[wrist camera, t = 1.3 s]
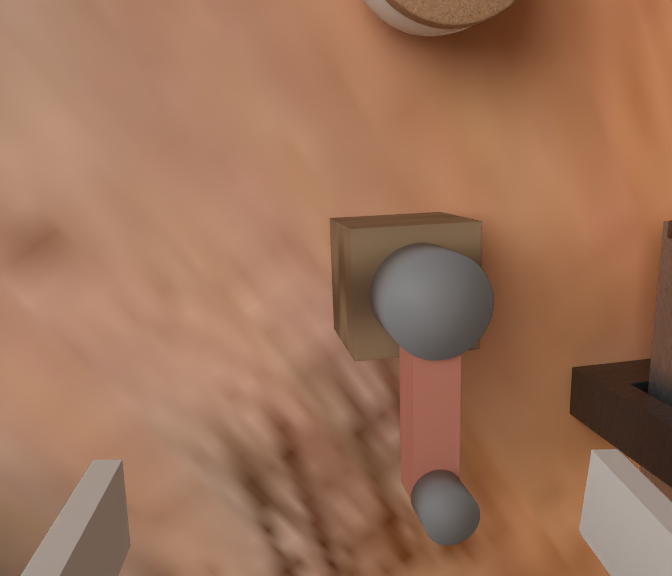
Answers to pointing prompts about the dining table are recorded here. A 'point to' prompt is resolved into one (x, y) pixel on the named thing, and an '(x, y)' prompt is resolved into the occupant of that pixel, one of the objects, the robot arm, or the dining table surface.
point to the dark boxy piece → (625, 412)
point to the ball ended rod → (433, 374)
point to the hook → (662, 340)
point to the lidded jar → (436, 14)
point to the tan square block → (368, 254)
